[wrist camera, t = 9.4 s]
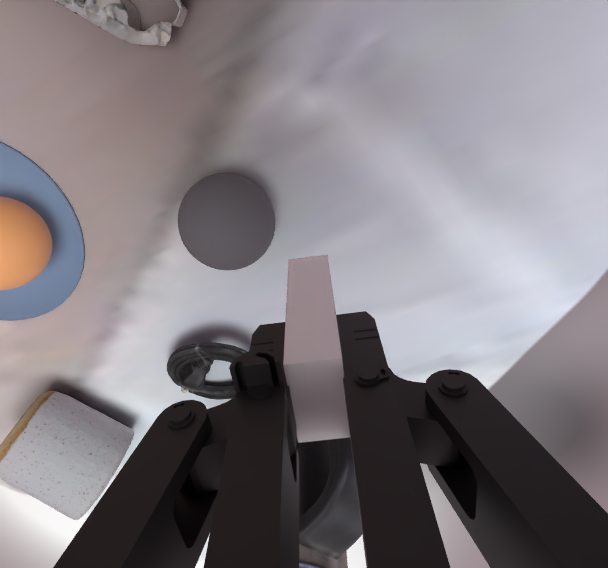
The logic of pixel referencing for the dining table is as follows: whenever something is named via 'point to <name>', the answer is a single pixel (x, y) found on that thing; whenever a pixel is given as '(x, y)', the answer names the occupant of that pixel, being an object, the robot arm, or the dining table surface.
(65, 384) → the dining table surface
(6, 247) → the terracotta ball
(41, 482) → the ceramic mug
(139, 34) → the egg carton
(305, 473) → the milk frother
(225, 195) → the dark gray ball
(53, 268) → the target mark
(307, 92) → the dining table surface
